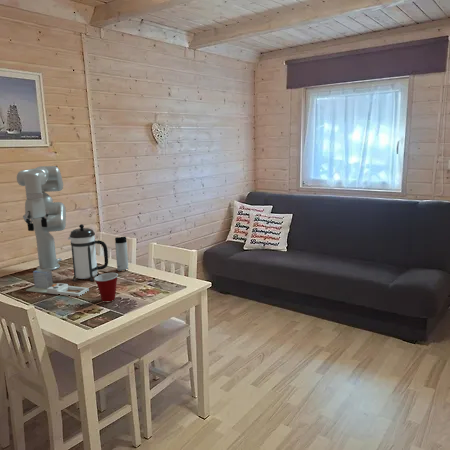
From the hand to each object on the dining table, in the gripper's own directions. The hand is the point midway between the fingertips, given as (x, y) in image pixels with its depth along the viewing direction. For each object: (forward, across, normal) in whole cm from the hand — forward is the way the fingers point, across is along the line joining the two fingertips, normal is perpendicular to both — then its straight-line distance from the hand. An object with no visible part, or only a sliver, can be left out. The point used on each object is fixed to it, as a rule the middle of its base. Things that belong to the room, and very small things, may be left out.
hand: (38, 228), depth 210 cm
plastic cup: (+28, +16, +50) cm, 60 cm away
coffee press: (+28, -9, +22) cm, 37 cm away
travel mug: (+28, -26, +33) cm, 51 cm away
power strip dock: (+28, +12, +25) cm, 40 cm away
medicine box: (+28, +10, +9) cm, 31 cm away
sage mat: (+28, +10, +9) cm, 31 cm away
